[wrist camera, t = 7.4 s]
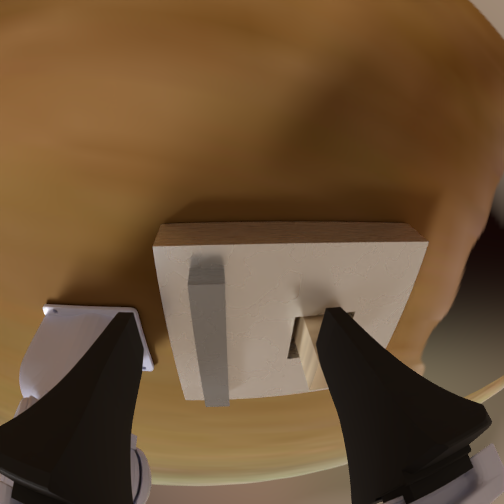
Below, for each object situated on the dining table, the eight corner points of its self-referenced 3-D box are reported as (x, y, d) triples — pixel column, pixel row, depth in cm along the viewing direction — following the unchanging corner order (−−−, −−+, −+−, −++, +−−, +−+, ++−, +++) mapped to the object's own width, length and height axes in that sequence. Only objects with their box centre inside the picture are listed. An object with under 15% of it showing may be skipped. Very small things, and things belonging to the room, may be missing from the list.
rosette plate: (186, 374, 26) (185, 414, 22) (161, 224, 18) (146, 261, 14) (358, 359, 28) (373, 393, 24) (407, 223, 20) (441, 253, 16)
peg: (289, 321, 24) (309, 390, 18) (294, 291, 22) (319, 362, 16) (324, 319, 24) (351, 383, 18) (332, 289, 22) (365, 355, 16)
